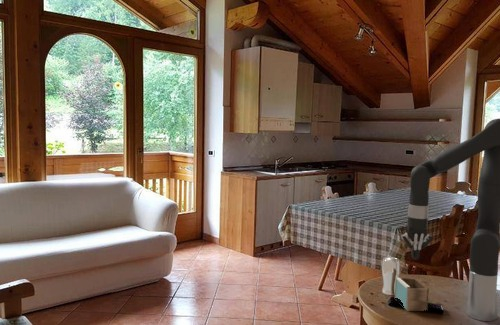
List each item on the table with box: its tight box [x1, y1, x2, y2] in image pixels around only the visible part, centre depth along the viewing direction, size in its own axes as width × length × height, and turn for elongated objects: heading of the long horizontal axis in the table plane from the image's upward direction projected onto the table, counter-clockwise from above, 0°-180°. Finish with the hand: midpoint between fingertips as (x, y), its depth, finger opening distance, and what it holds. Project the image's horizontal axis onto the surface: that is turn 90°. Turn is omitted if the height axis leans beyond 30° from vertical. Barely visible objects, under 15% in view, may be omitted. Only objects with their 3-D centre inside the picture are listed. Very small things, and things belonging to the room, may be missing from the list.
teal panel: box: [396, 277, 410, 311], centre depth 166 cm, size 1×10×9 cm, turn 3°
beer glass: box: [381, 256, 400, 296], centre depth 178 cm, size 7×7×15 cm
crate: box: [394, 277, 430, 312], centre depth 166 cm, size 8×12×9 cm
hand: (415, 258), depth 165 cm, fingers closed
